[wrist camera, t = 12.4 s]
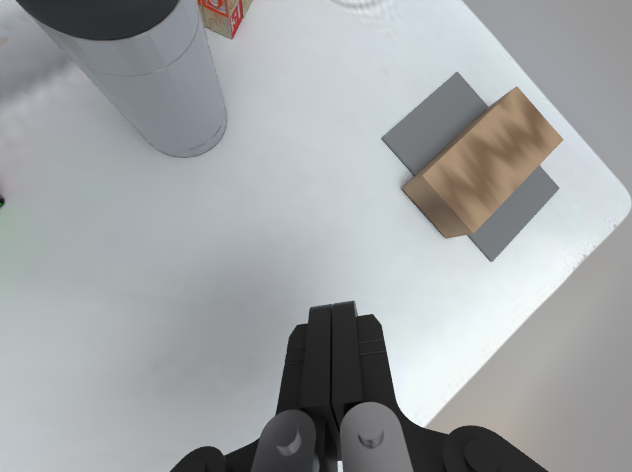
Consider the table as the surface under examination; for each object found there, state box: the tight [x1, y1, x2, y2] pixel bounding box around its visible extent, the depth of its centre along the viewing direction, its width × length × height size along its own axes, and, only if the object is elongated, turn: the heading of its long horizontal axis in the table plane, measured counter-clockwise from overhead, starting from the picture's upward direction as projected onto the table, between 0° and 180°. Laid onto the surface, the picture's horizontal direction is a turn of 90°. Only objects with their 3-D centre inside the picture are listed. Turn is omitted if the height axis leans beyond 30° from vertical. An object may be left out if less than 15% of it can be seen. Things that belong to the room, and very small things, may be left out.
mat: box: [381, 72, 559, 262], centre depth 38 cm, size 20×14×1 cm
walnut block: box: [402, 87, 563, 238], centre depth 36 cm, size 8×5×16 cm
